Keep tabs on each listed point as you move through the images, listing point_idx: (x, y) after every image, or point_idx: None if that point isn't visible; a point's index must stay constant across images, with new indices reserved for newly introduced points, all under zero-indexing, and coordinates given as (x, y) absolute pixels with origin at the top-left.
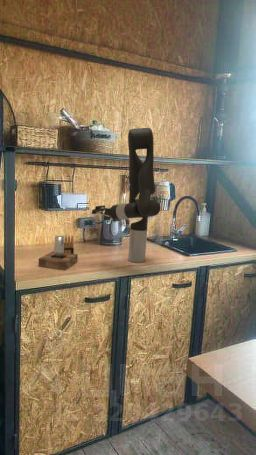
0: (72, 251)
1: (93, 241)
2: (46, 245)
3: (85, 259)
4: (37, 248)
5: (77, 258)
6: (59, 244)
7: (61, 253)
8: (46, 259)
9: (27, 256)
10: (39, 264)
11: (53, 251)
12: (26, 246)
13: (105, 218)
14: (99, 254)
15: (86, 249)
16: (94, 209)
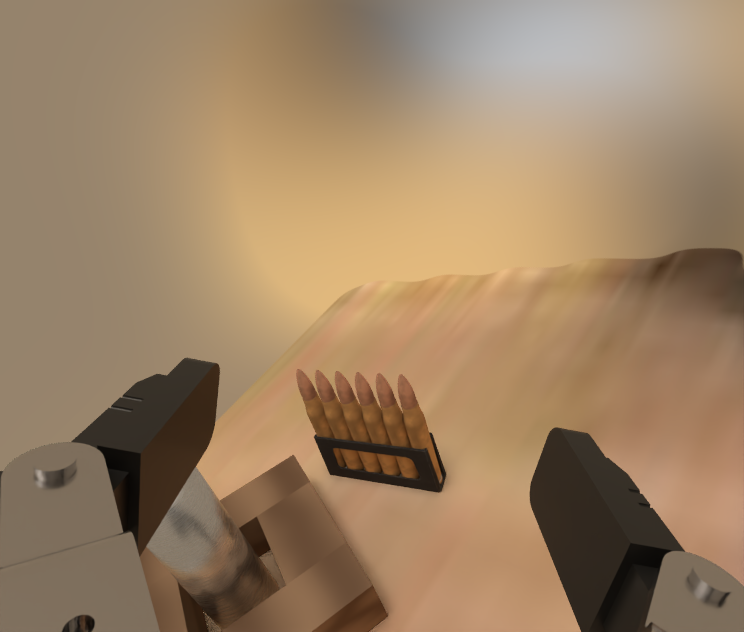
0: (424, 466)
1: (720, 267)
2: (435, 300)
3: (480, 584)
4: (373, 328)
5: (379, 603)
6: (153, 553)
7: (201, 597)
8: None
9: (253, 414)
10: None
11: (295, 459)
12: (356, 303)
13: (551, 510)
14: (661, 505)
15: (606, 381)
16: (98, 420)
